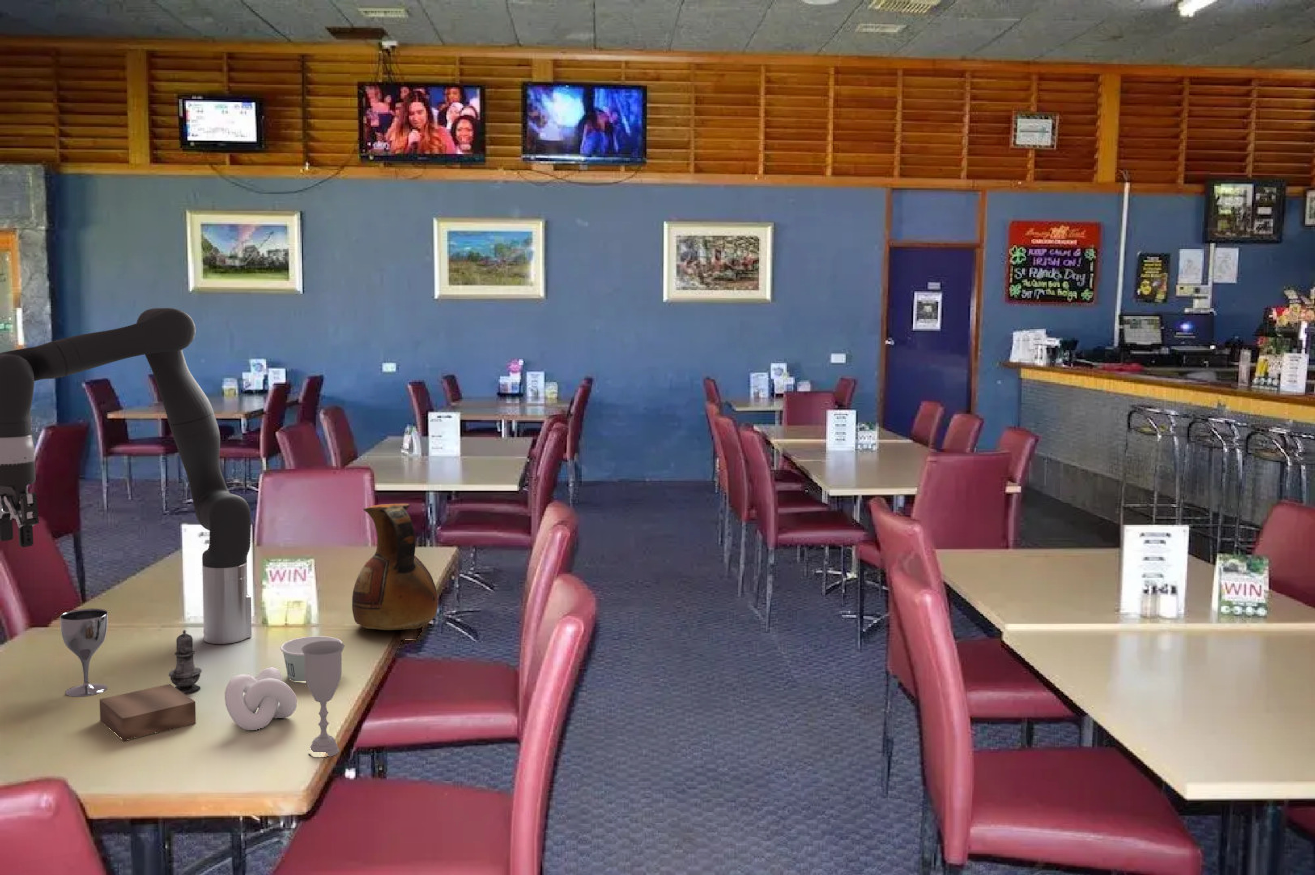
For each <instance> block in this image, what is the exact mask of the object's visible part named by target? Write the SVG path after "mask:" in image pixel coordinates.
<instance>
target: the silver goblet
mask: <svg viewBox="0 0 1315 875" xmlns="http://www.w3.org/2000/svg"><path fill="white" fill-rule="evenodd" d="M59 621H60V622H59V624H60V626H59V627H60V632H61V637H62V640H63V643H64V645H65V646H66V648H68V650H70V651H71V652H72V653H73V654H75V655H76V656H77V657H78V659H79V661H80V663H81V667H82V673H83V684H78V685H76V686H72V687H69V688H68V689H67V690H65V692H64V693H65V696H68V697H75V698H77V697H78V698H80V697H81V698H82V697H90V696H94V695H95V696H96V695H98V694H101V693H104V692H105V691H106V690H108V685H106V684H103V683H94V682H93V683H90V682H89V669H90V661H91V659H92V657H93V656H94V654H95V653H96V652H97V651H98V650H99V649H100V647H101V646H102V645H103V643H104V642H105V640H106V636H107V633H108V632H107V631H108V626H109V625H108V624H109V614H108V610H106V609H102V608H80V609H73V610H69V611H67V612H64V613H62V614H61V615H60V616H59Z"/></svg>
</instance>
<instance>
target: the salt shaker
mask: <svg viewBox="0 0 1315 875" xmlns="http://www.w3.org/2000/svg"><path fill="white" fill-rule="evenodd" d="M193 640H194V639H193V636H192V635H191V634H189V633H187V631H186V630H185V629H183V630H182V634H179V635H178V636H177V638H176V652H175V653H174V656H175V657H176V663H175V669H173V670H171V671H169V673H168V676H169V678H170V681H171V683H172V684H173V685H174V687H175V688H177V689H178V690H179V691H181V692H182V693H184V694H185V695H191V694H195V693H198V692H199V691H201V686H200V685H198V684H196V683H198V681H199V679H200V678H201V673H203V671H202V669H201V668H199V667H196V666H195V663H194V654H195V653H196V651H194V647H193V646H194V644H193V643H194V641H193Z"/></svg>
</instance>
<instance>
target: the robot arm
mask: <svg viewBox="0 0 1315 875" xmlns="http://www.w3.org/2000/svg"><path fill="white" fill-rule="evenodd" d="M196 329H197V328H196V325H195V322H194V320H193V318H192V316H190V315H189V314H188V313H186V312H185V311H183V310H180V309H178V308H173V307H154V308H149V309H146V310H144V311H143V312H141V313H140V314H139V316H138V318H137V319H136V323H133V324H130V325H126V326H122V327H118V328H114V329H108V330H102V331H95V332H94V331H93V332H90V333H83V334H78V335H74V336H67V337H64V338H60V339H57V340H56V339H55V340H52V341H49V342H46V343H43V344H39V345H36V346H30V347H25V348H24V347H23V348H18V349H13V350H8V351H7V350H6V351H2V352H0V541H1V542H6V541H11V540H13V538H14V531H13V529H14V528H13V520H12V519H15V520H16V521H15V522H16V523H17V527H18V528H17V530H18V546H20V547H21V548H28V547H32V546H33V545H34V533H33V532H34V531H33V530H34V529H33V527H34V526H35V525H38V524H39V523H40V522H39V520H40V518H39V508H38V507H39V506H38V495H37V493H36V492H29V491H28V486H29V485H33V484H34V483H35V482H36V478H37V477H36V462H35V461H36V460H35V447H34V442H33V436H32V419H31V408H32V405H33V404H32V403H33V397H34V390H35V382H38V381H41V380H50V379H51V380H52V379H58V378H59V379H60V378H63V377H66V376H67V377H68V376H70V375H73V374H74V375H75V374H78V373H81V372H84V371H87V370H88V371H89V370H92V369H94V368H98V367H101V366H104V365H108V364H111V363H115V362H118V361H123V360H126V359H129V358H134V357H138V356H145V358H146V361H147V362H148V366H149V367H150V369H151V372H152V373H153V376H154V379H155V380H154V381H155V382H156V386H157V389H158V393H159V396H160V399H161V402H162V405H163V408H164V411H165V415H166V418H167V419H166V420H167V422H168V425H169V428H170V431H171V434H172V437H173V440H174V442H175V444H176V445H175V446H176V447H177V452H178V454H179V456H180V461H181V463H182V466H183V468H184V471H185V473H186V475H187V480H188V484H189V488H190V489H189V490H190V494H191V499H192V502H193V508H194V513H195V516H196V520H197V521H198V522H199V525H201V527H203V529H205V530H207V531H209V536H208V537H209V540H208V541H209V543H208V544H209V545H208V548H207V549H206V550H204V551H203V553H202V558H201V560H202V562H201V563H202V564H201V566H202V606H203V607H202V609H203V610H202V612H203V613H202V614H203V631H202V632H203V642H205V643H208V644H213V645H225V644H232V643H233V644H234V643H238V642H241V641H243V640H246V639H249V638H252V637H253V634H252V629H253V628H252V596H251V595H249V594H248V554H249V552H250V548H251V542H252V541H251V537H252V536H251V534H252V514H251V507H250V505H249V503H248V501H247V500H246V499H244V498H243V497H242V496H239V495H237V494H233V493H230V490H229V488H228V487H227V484H226V481H225V477H224V476H223V473H222V470H221V465H220V452H221V434H220V429H219V424H218V421H217V419H216V415H215V412H214V409H213V407H212V403H211V402H210V399H209V398H208V396H207V395H206V394H205V392H204V391H203V389H202V388H201V385H199V383H198V382H197V381H196V378H194V376H193V374H192V373H191V371H190V369H189V367H188V364H187V362H186V358H185V355H184V351H183V350H184V349H186V348H187V347H189V346H190V345H191V344H192V342H193V341H194V339H195V337H196V333H197V332H196Z"/></svg>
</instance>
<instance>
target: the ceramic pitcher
mask: <svg viewBox="0 0 1315 875" xmlns="http://www.w3.org/2000/svg"><path fill="white" fill-rule="evenodd" d="M410 506H411V505H410V503H389V504H388V503H387V504H385V503H384V504H383V503H382V504H376V505H371V506H369V507H365V508H363V511H364V512H366V513H367V514H368V516H369V517H370V518H371V519H372V522H373V523H374V527H375V530H376V538H377V541H376V543H377V545H376V550H375V553H374V554H373V555H372V557H371V558H369V560H368V561H367V562H365V564H364V565H363V566H362V568H361V570H360V572H359V573H358V576H357V578H356V580H355V583H354V587H353V590H352V596H351V598H352V599H351V609H352V615H353V620H354V622H355V623H356V624H357V625H360V626H361V627H363V628H365V629H369V630H370V629H373V630H379V631H381V630H382V631H400V630H401V631H402V630H410V629H420V628H424V627H426V626H427V625H428V624H429V623H430V622H432V620H433V619H434V618H435V617H436V616H437V612H438V603H439V602H438V593H437V586H436V585H435V581H434V579H433V576H432V575H431V572H430V571H429V569H428V568H427V567H426V565H425V564H424V563H423V562H422V561H421V559H419V558H418V557H417V556H416V555H415V554H416V543H417V542H416V534H415V529H414V524H413V520H412V519H411V516H410V514H409V513H408V512H407V510H408V509H409V508H410Z"/></svg>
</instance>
